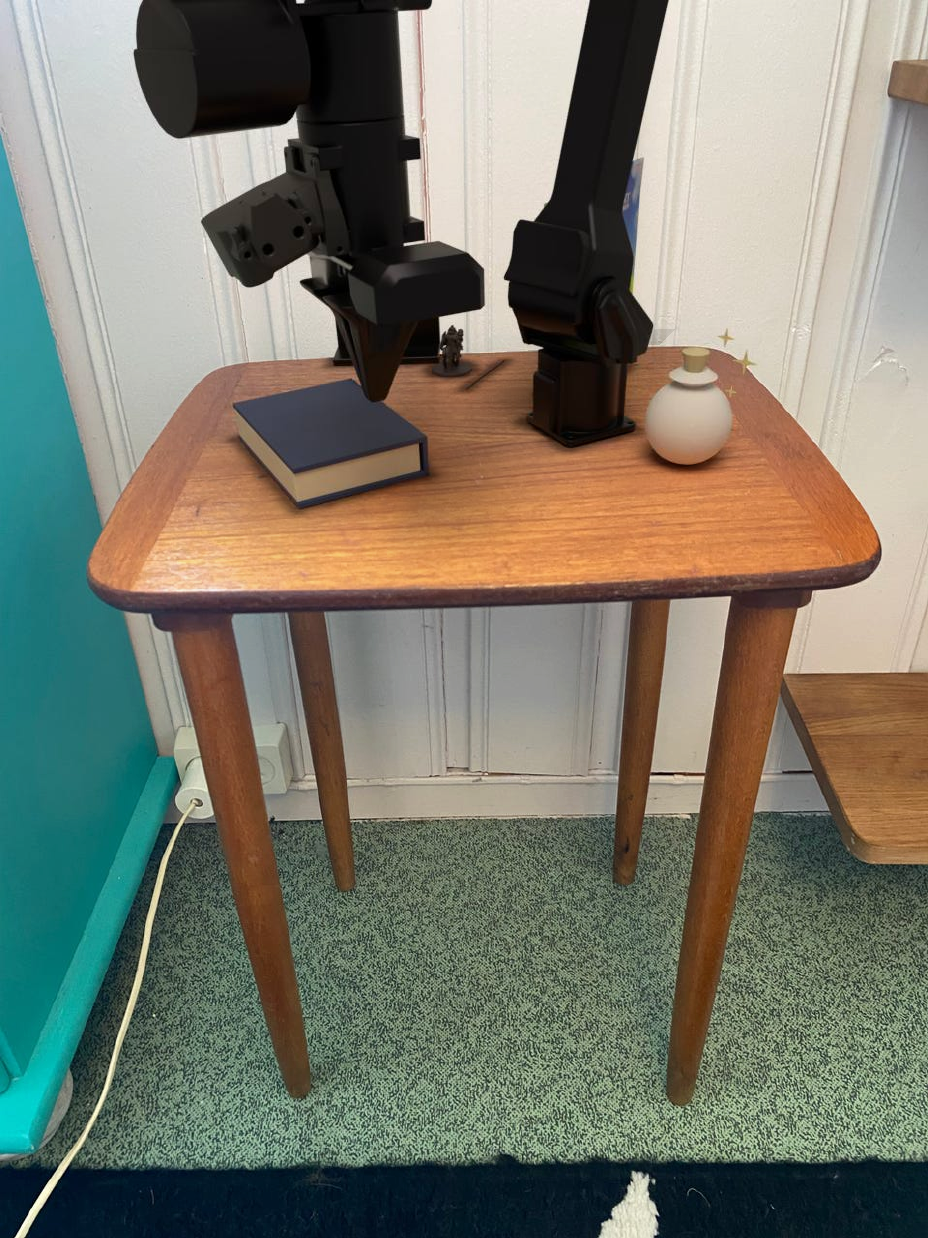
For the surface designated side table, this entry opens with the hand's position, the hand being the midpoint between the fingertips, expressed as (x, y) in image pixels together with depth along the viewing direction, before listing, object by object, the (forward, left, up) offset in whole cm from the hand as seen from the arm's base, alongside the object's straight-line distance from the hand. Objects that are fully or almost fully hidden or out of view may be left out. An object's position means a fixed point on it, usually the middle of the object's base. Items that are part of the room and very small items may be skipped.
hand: (376, 399), depth 57 cm
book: (0, -10, -8) cm, 13 cm away
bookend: (-13, -29, -8) cm, 33 cm away
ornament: (-22, +5, -8) cm, 24 cm away
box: (-25, -13, -8) cm, 30 cm away
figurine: (-17, -22, -8) cm, 29 cm away
